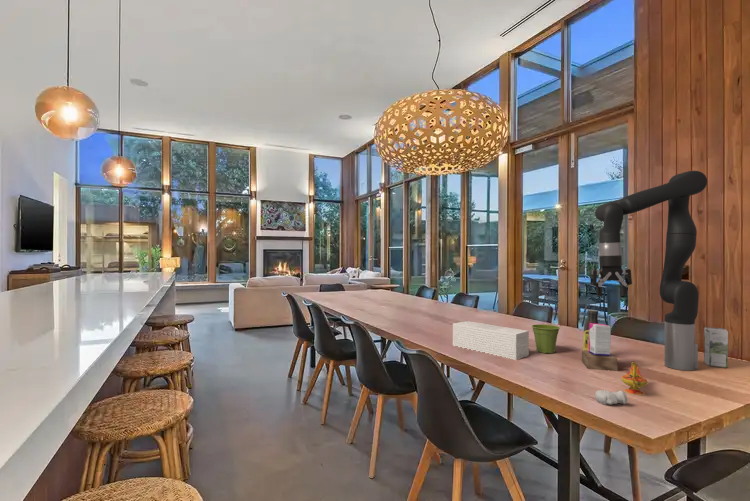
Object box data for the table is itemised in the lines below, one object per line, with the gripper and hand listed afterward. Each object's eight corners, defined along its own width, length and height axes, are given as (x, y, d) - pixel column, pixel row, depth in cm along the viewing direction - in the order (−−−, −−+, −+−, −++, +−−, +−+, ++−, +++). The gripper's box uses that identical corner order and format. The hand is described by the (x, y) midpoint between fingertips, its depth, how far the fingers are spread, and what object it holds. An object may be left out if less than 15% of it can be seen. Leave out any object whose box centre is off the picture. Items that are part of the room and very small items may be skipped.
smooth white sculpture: (596, 408, 114) (594, 397, 118) (628, 412, 111) (624, 400, 115) (596, 396, 112) (594, 385, 117) (629, 399, 109) (625, 388, 114)
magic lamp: (647, 384, 130) (647, 351, 130) (647, 401, 115) (647, 364, 115) (623, 380, 134) (623, 348, 134) (620, 396, 119) (620, 360, 119)
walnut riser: (609, 364, 154) (609, 352, 155) (617, 372, 145) (617, 358, 145) (581, 362, 157) (581, 350, 157) (587, 369, 148) (587, 356, 148)
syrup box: (722, 364, 154) (722, 327, 154) (728, 368, 148) (728, 330, 148) (703, 362, 156) (703, 326, 156) (709, 366, 151) (709, 329, 151)
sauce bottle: (583, 358, 162) (583, 310, 162) (581, 354, 168) (581, 308, 168) (601, 360, 160) (601, 311, 160) (599, 356, 165) (599, 309, 166)
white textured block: (452, 346, 184) (452, 323, 184) (466, 342, 191) (466, 320, 191) (516, 360, 160) (516, 334, 160) (528, 356, 167) (528, 330, 167)
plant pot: (561, 350, 175) (561, 325, 175) (558, 356, 165) (558, 330, 165) (533, 347, 181) (533, 323, 181) (528, 352, 171) (528, 327, 171)
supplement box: (611, 356, 148) (611, 325, 148) (594, 355, 149) (594, 325, 149) (604, 352, 154) (604, 323, 154) (588, 351, 154) (588, 322, 155)
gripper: (623, 253, 154) (625, 294, 154) (586, 254, 156) (587, 295, 156) (634, 254, 147) (636, 297, 147) (595, 255, 148) (596, 297, 148)
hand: (611, 296), depth 151 cm, fingers open, 8 cm apart
